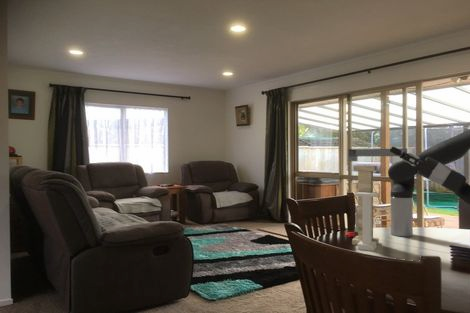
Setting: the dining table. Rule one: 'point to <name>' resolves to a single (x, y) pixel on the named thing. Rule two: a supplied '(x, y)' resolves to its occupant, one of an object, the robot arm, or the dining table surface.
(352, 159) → the hook bar
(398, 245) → the dining table surface
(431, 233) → the dining table surface
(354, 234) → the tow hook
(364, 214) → the rest post
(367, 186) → the tall stand
